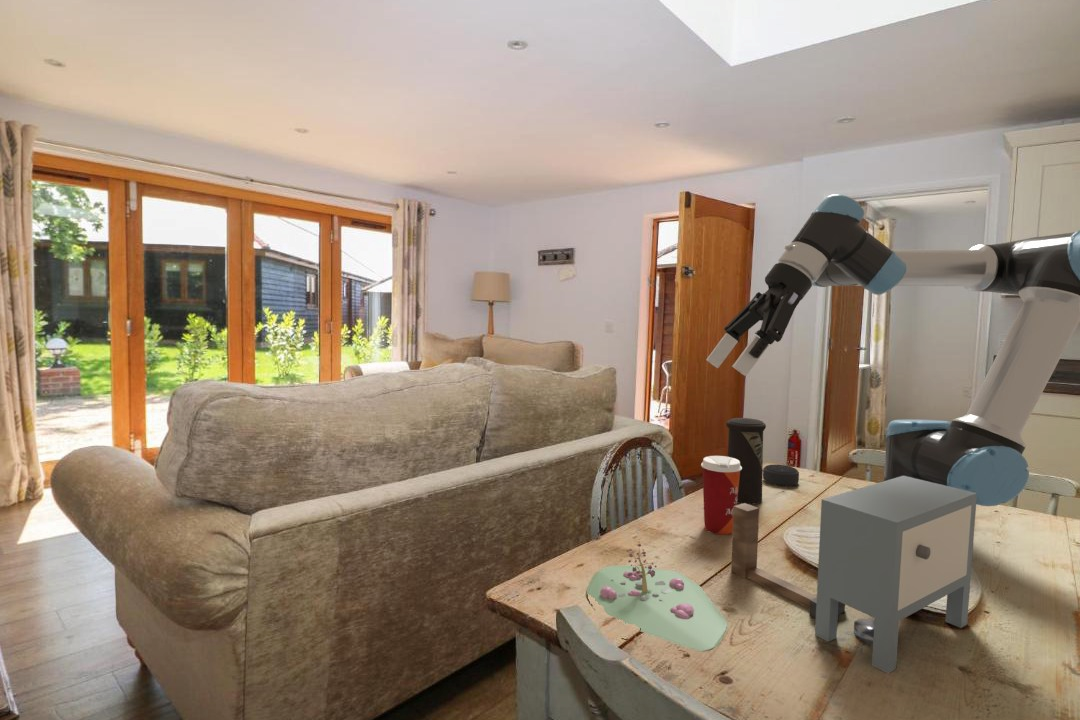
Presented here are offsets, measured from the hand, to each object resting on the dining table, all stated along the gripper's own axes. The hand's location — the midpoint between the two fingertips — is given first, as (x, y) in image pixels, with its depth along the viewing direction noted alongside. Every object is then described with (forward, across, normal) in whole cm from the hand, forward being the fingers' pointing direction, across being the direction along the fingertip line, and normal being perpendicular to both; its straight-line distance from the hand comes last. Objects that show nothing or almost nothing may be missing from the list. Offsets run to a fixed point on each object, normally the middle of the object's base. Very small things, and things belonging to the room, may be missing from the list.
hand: (724, 367), depth 103 cm
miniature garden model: (+39, +16, +9) cm, 43 cm away
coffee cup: (+26, -13, +25) cm, 39 cm away
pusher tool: (+26, +13, +26) cm, 39 cm away
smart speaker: (+10, -45, +48) cm, 66 cm away
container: (+19, -32, +35) cm, 51 cm away
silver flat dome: (+22, +26, +32) cm, 47 cm away
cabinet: (+19, +25, +35) cm, 47 cm away
